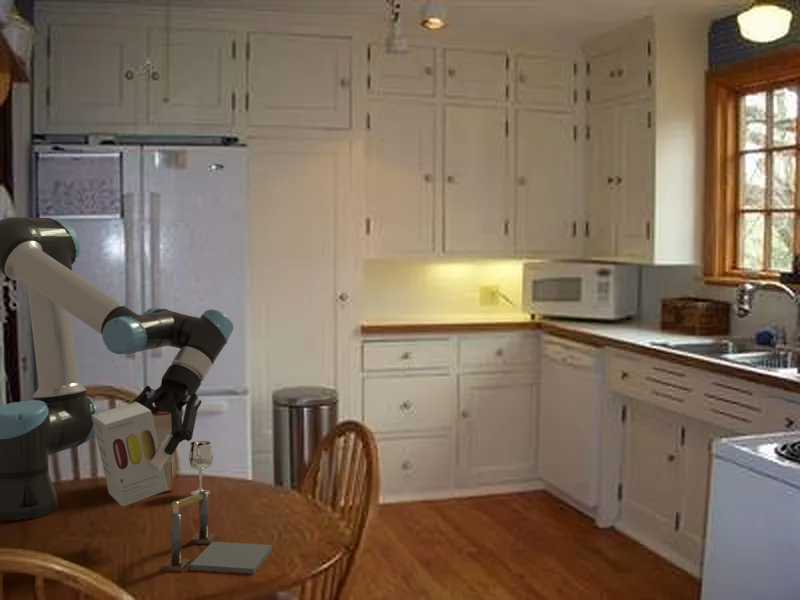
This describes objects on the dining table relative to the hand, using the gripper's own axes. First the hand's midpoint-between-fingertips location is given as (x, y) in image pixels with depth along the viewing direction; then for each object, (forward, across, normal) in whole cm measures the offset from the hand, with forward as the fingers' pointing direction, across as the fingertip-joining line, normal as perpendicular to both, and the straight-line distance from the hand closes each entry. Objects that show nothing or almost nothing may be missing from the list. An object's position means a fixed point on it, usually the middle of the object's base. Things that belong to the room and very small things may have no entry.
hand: (130, 461), depth 166 cm
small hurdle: (+10, -14, -13) cm, 21 cm away
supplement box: (+3, -1, -6) cm, 7 cm away
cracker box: (-11, +23, -36) cm, 44 cm away
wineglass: (-11, +10, -35) cm, 38 cm away
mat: (+9, -23, -14) cm, 28 cm away
